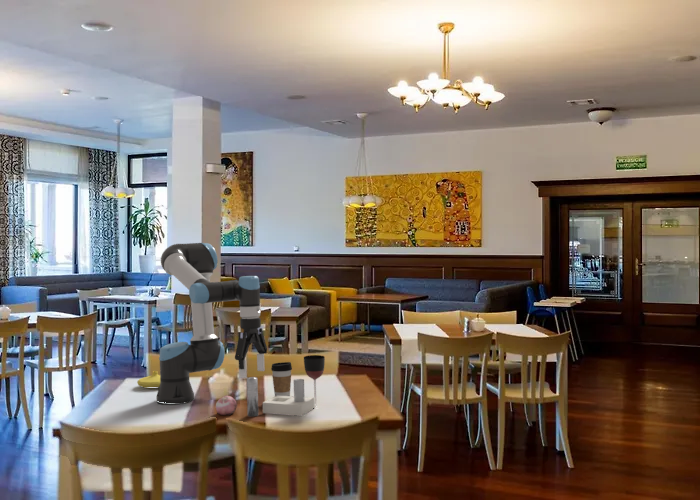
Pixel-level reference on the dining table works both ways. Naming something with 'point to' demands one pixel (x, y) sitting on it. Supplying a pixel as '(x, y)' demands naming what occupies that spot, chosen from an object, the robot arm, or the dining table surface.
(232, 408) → the red onion
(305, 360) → the wineglass
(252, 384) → the pipe
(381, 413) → the dining table surface
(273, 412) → the socket block
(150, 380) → the yellow knobbed lid
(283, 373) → the coffee cup
